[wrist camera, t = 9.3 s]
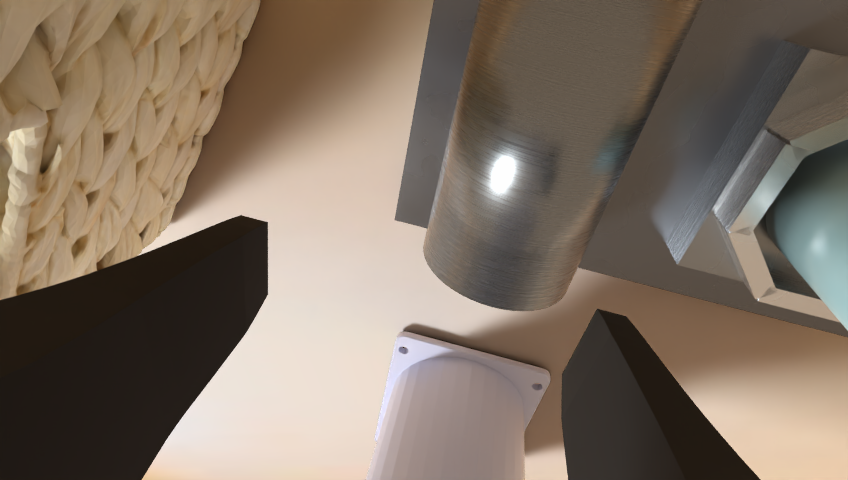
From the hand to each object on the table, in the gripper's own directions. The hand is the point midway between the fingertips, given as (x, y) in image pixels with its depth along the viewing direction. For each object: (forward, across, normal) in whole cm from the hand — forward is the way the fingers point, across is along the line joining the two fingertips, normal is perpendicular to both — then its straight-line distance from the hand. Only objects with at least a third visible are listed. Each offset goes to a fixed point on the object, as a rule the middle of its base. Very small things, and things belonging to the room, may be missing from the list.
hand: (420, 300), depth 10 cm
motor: (+9, -7, -2) cm, 12 cm away
